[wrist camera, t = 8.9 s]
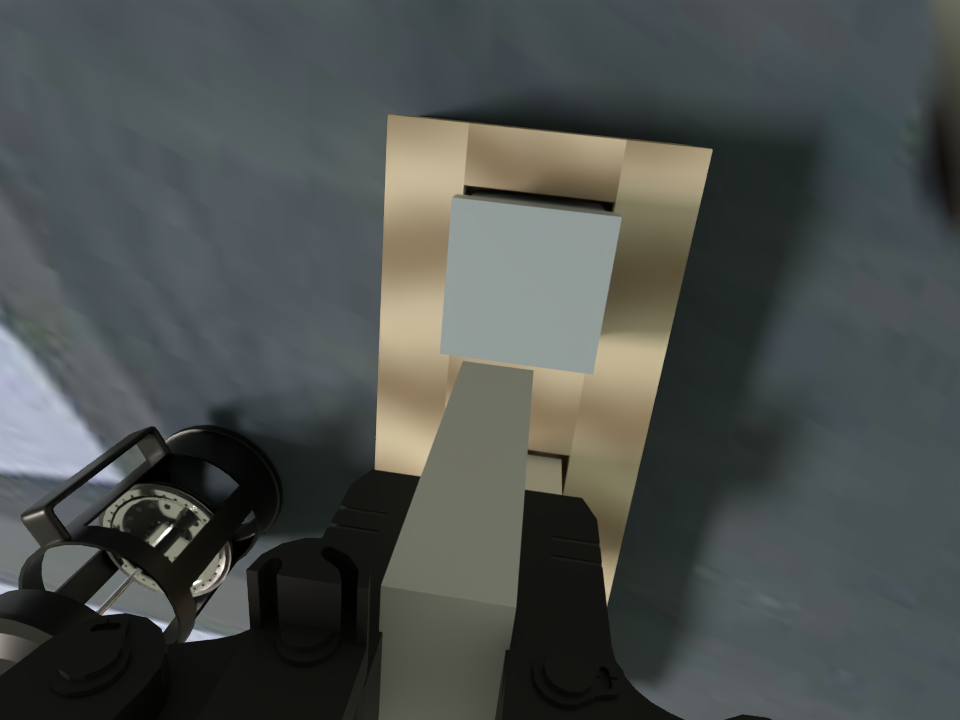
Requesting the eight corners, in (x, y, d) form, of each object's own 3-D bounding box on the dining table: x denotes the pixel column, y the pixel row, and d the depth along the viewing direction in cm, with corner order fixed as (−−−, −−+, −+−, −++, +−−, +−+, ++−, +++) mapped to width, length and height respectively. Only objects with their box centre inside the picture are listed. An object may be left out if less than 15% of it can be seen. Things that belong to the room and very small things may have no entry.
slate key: (473, 182, 29) (451, 197, 23) (608, 197, 29) (621, 217, 23) (461, 311, 32) (439, 353, 26) (585, 327, 31) (593, 374, 25)
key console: (417, 116, 32) (387, 114, 26) (684, 144, 31) (713, 148, 25) (388, 646, 46) (365, 718, 41) (570, 678, 45) (572, 756, 40)
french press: (310, 528, 43) (69, 927, 22) (204, 558, 45) (-110, 948, 24) (228, 386, 39) (-159, 696, 18) (117, 427, 42) (-343, 745, 20)
